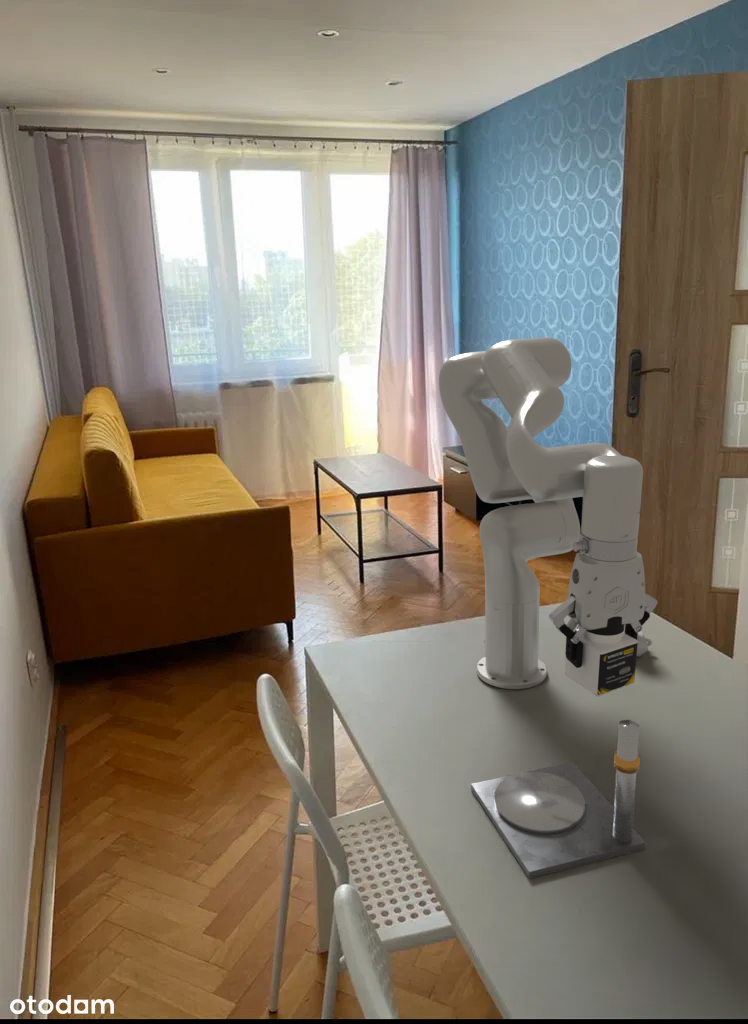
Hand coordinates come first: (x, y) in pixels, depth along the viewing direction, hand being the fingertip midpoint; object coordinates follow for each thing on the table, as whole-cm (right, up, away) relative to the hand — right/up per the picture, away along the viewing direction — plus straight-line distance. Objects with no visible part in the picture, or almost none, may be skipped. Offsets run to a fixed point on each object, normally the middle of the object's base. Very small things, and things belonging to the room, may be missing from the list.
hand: (600, 657), depth 113 cm
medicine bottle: (0, -4, +1) cm, 4 cm away
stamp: (+15, -6, +36) cm, 39 cm away
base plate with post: (-9, -20, -9) cm, 23 cm away
